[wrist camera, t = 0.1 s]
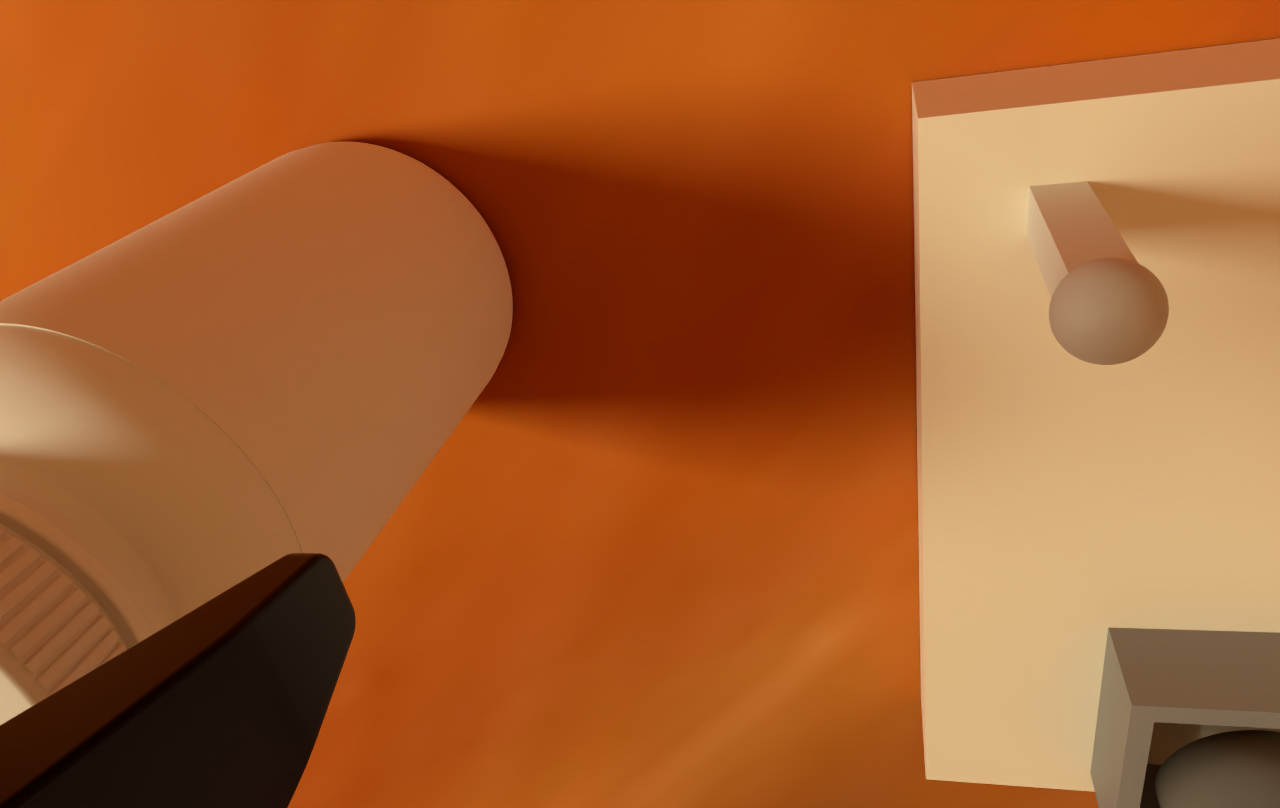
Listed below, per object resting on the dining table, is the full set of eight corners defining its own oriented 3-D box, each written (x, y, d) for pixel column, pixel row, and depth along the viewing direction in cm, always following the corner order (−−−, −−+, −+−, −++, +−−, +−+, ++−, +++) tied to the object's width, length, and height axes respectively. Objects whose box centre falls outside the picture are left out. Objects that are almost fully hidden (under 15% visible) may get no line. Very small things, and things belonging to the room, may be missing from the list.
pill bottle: (390, 68, 22) (-244, 378, 9) (577, 335, 25) (278, 846, 12) (191, 220, 25) (-465, 593, 13) (374, 438, 28) (-20, 919, 16)
